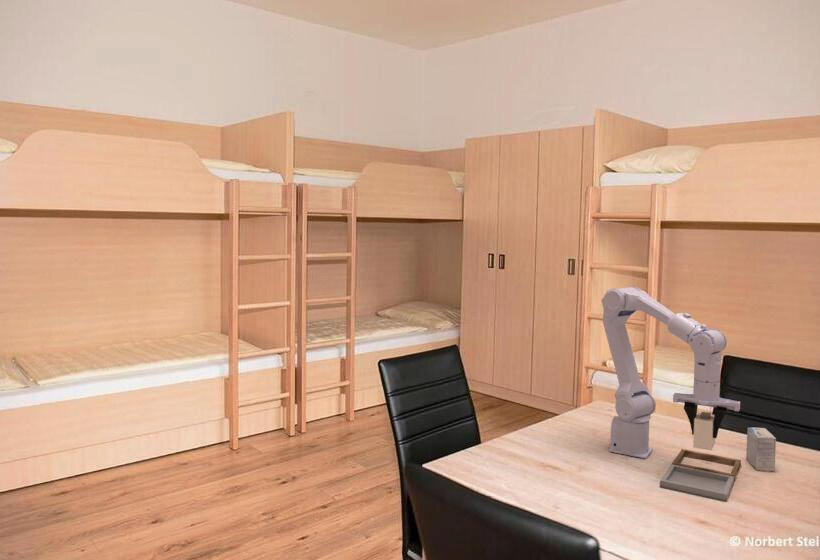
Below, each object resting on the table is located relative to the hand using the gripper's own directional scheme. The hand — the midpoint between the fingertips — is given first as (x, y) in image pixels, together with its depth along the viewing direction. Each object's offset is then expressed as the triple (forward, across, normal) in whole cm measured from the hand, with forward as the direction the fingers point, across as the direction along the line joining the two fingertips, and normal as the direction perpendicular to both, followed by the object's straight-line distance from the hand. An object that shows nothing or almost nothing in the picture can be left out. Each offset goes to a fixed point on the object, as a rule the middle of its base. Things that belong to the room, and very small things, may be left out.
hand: (704, 435), depth 154 cm
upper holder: (+10, 0, +6) cm, 11 cm away
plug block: (+3, 0, 0) cm, 3 cm away
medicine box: (+10, +11, +15) cm, 21 cm away
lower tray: (+10, 0, -7) cm, 12 cm away
